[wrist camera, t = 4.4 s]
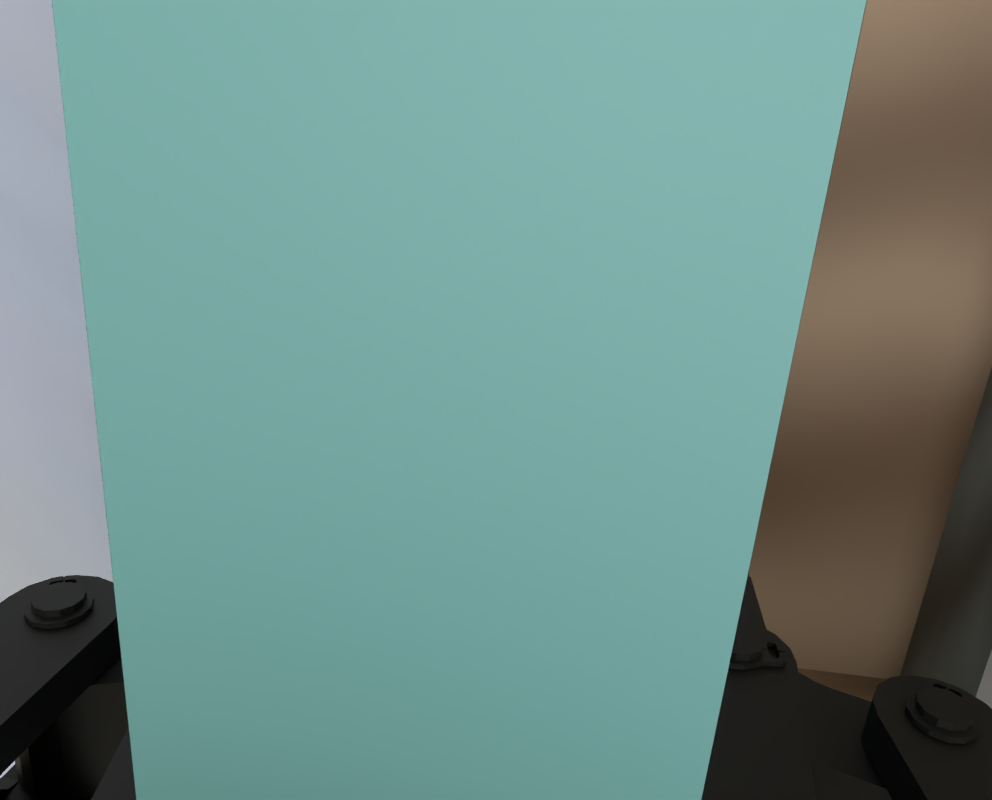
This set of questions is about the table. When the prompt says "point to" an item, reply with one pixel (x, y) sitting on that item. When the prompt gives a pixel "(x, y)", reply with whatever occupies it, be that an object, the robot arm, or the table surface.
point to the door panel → (440, 375)
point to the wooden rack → (894, 375)
